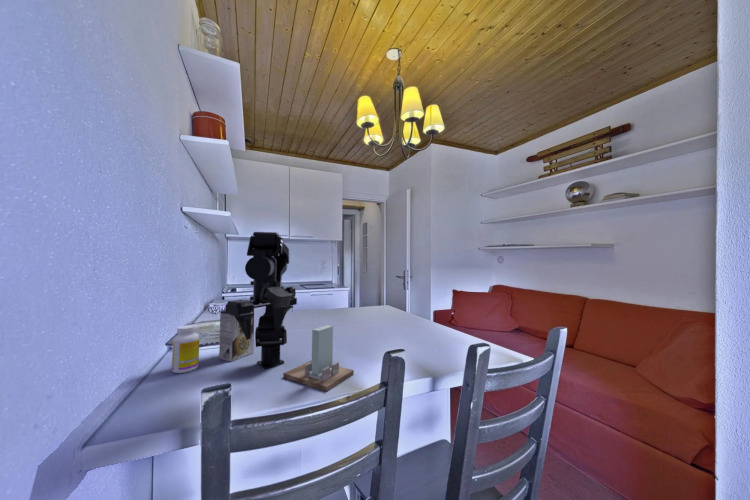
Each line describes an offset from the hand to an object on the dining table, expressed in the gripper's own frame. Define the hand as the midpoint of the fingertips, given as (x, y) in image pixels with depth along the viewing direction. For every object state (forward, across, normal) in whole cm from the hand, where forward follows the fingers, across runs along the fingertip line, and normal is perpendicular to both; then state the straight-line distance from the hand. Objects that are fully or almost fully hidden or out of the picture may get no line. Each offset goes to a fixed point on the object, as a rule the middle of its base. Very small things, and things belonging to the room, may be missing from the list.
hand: (263, 335), depth 72 cm
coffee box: (+13, +9, +26) cm, 30 cm away
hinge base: (+13, +12, -10) cm, 20 cm away
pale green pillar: (+12, +11, -12) cm, 20 cm away
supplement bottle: (+13, -6, +28) cm, 32 cm away
